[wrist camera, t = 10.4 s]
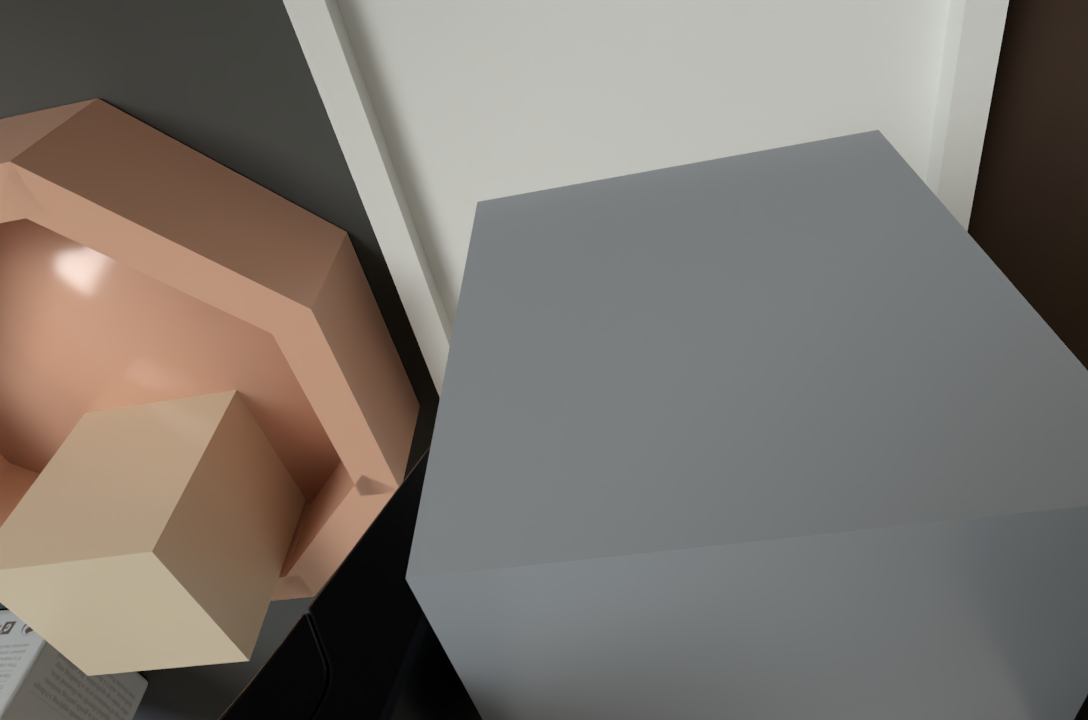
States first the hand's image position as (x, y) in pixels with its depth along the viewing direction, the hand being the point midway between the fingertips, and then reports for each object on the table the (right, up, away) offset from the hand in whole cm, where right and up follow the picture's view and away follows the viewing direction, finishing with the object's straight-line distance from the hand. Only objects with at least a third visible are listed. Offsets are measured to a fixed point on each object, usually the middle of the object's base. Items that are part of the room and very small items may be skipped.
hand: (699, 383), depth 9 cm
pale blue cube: (0, +1, +1) cm, 1 cm away
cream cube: (-11, -2, +12) cm, 17 cm away
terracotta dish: (-12, 0, +10) cm, 16 cm away
